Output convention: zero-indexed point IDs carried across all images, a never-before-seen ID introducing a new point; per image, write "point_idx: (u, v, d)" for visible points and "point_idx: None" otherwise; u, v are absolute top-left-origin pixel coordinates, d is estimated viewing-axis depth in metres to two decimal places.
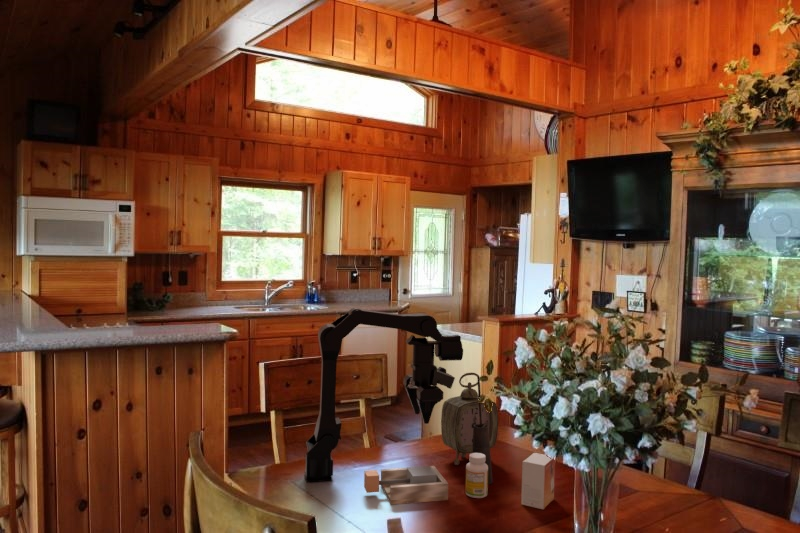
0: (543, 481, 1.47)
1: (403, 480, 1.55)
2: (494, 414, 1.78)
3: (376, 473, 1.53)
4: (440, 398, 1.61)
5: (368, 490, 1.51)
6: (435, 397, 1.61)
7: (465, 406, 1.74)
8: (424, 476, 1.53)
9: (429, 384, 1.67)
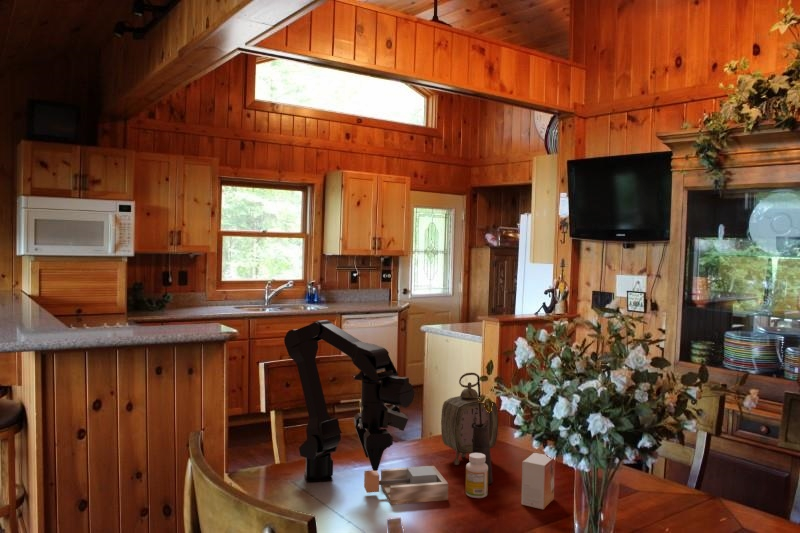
0: (543, 481, 1.47)
1: (403, 480, 1.55)
2: (494, 414, 1.78)
3: (376, 473, 1.53)
4: (389, 444, 1.44)
5: (368, 490, 1.51)
6: (384, 442, 1.44)
7: (465, 406, 1.74)
8: (424, 476, 1.53)
9: (379, 426, 1.51)
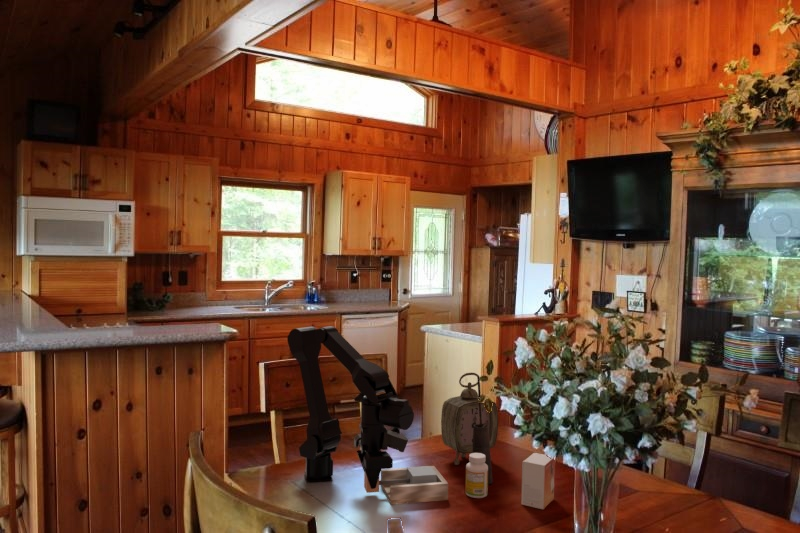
0: (543, 481, 1.47)
1: (403, 480, 1.55)
2: (494, 414, 1.78)
3: None
4: (389, 466, 1.45)
5: (368, 490, 1.51)
6: (383, 465, 1.44)
7: (465, 406, 1.74)
8: (424, 476, 1.53)
9: (379, 448, 1.51)
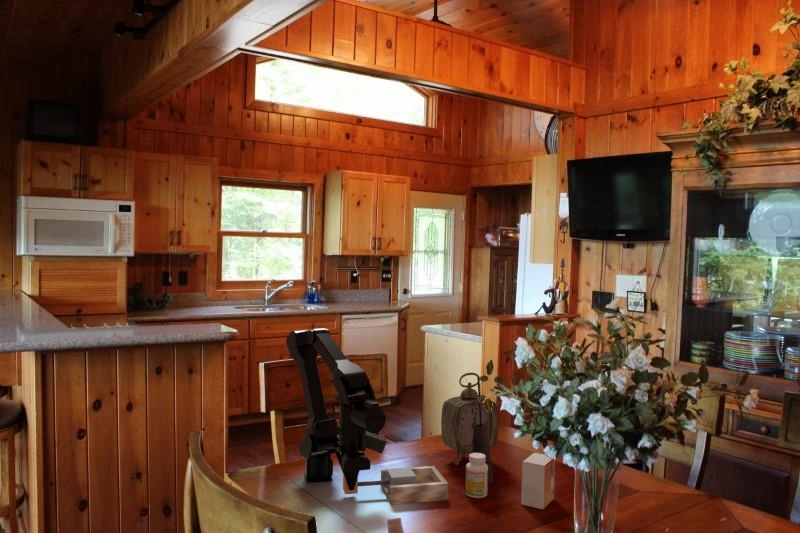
0: (543, 481, 1.47)
1: (382, 481, 1.54)
2: (494, 414, 1.78)
3: None
4: (366, 468, 1.43)
5: (346, 492, 1.50)
6: (361, 467, 1.43)
7: (465, 406, 1.74)
8: (403, 477, 1.52)
9: (357, 449, 1.50)
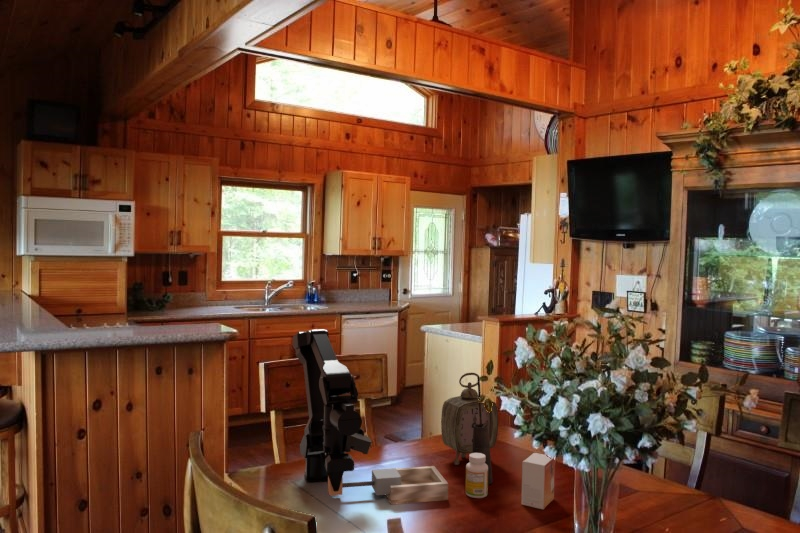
0: (543, 481, 1.47)
1: (367, 483, 1.53)
2: (494, 414, 1.78)
3: None
4: (350, 469, 1.42)
5: (331, 493, 1.49)
6: (345, 468, 1.42)
7: (465, 406, 1.74)
8: (388, 478, 1.51)
9: (341, 450, 1.49)
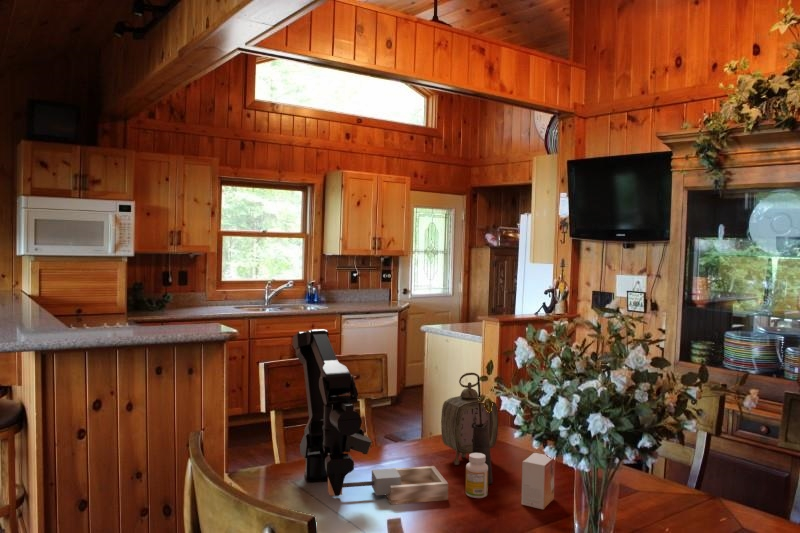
0: (543, 481, 1.47)
1: (367, 483, 1.53)
2: (494, 414, 1.78)
3: None
4: (350, 469, 1.42)
5: (331, 493, 1.49)
6: (344, 468, 1.42)
7: (465, 406, 1.74)
8: (388, 478, 1.51)
9: (341, 450, 1.49)
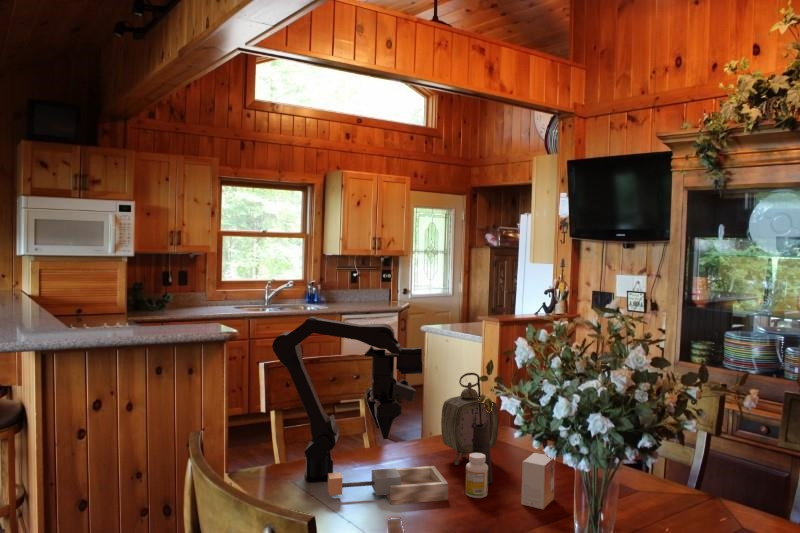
0: (543, 481, 1.47)
1: (367, 483, 1.53)
2: (494, 414, 1.78)
3: (339, 475, 1.51)
4: (398, 413, 1.55)
5: (331, 493, 1.49)
6: (393, 411, 1.54)
7: (465, 406, 1.74)
8: (388, 478, 1.51)
9: (388, 398, 1.61)
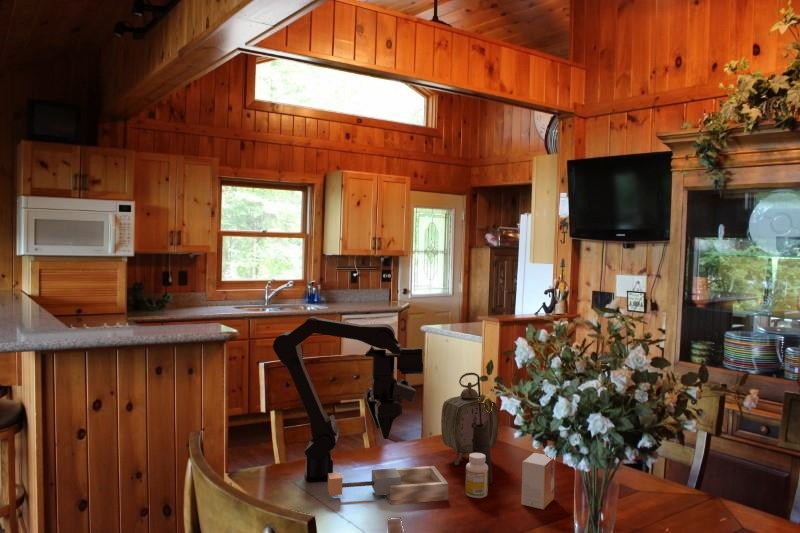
0: (543, 481, 1.47)
1: (367, 483, 1.53)
2: (494, 414, 1.78)
3: (339, 475, 1.51)
4: (399, 413, 1.55)
5: (331, 493, 1.49)
6: (394, 411, 1.55)
7: (465, 406, 1.74)
8: (388, 478, 1.51)
9: (389, 398, 1.61)
